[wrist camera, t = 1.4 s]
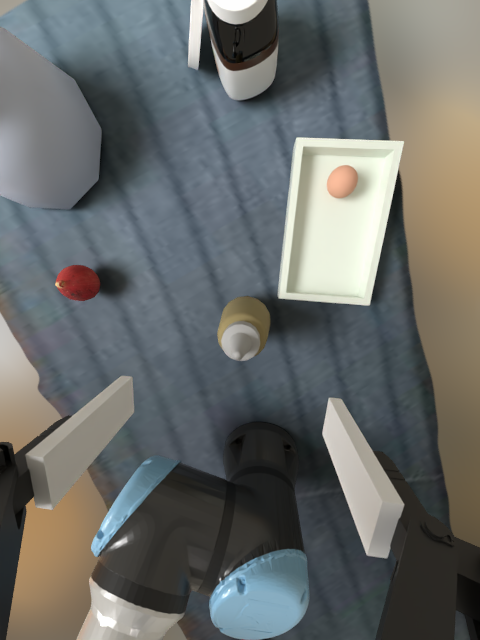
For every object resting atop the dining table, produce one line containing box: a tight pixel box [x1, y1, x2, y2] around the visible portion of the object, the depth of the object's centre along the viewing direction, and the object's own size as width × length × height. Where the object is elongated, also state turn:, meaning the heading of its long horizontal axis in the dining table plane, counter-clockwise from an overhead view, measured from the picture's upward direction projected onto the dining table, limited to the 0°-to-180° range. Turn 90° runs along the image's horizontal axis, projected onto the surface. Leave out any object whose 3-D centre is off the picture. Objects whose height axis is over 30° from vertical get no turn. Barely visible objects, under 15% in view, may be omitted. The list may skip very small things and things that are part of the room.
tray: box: [277, 138, 404, 306], centre depth 35 cm, size 22×14×3 cm, turn 176°
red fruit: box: [55, 265, 100, 301], centre depth 38 cm, size 6×6×8 cm
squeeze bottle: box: [217, 296, 270, 361], centre depth 32 cm, size 8×8×18 cm
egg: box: [327, 165, 358, 198], centre depth 32 cm, size 4×4×4 cm
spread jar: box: [188, 0, 279, 100], centre depth 27 cm, size 12×11×12 cm
